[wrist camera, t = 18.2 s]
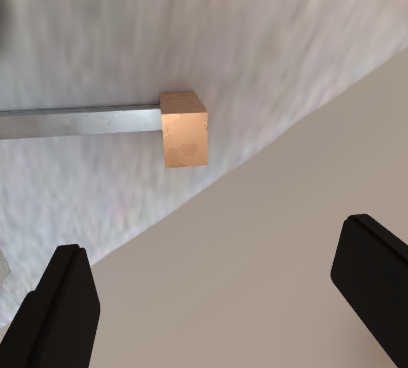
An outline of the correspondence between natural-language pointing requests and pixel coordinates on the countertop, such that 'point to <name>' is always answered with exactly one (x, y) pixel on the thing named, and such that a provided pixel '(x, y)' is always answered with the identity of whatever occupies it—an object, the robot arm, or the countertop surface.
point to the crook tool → (124, 125)
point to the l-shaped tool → (3, 269)
